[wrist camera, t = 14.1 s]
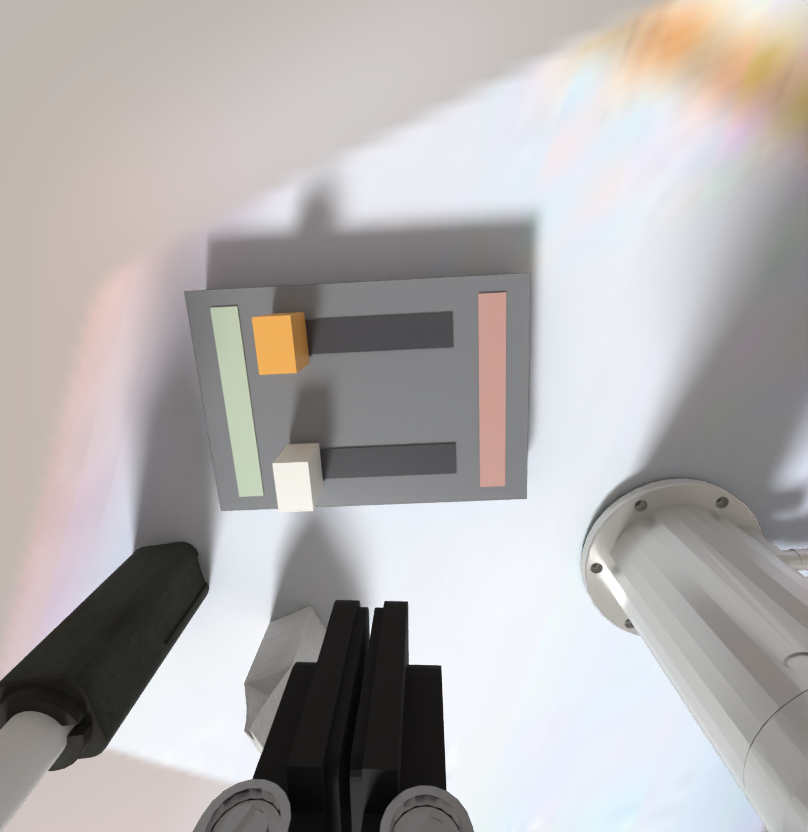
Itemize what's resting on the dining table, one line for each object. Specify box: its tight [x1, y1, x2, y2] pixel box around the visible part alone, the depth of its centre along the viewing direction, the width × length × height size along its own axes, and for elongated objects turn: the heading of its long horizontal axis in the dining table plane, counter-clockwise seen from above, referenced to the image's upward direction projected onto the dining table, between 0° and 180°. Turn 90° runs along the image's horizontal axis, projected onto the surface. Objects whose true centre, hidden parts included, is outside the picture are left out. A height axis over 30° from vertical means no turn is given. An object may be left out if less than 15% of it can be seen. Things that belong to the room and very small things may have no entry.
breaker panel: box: [184, 273, 531, 512], centre depth 29 cm, size 20×14×7 cm
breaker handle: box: [252, 312, 310, 375], centre depth 26 cm, size 2×3×3 cm, turn 3°
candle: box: [0, 542, 209, 832], centre depth 24 cm, size 5×5×25 cm
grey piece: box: [244, 605, 326, 754], centre depth 33 cm, size 4×7×10 cm, turn 26°
